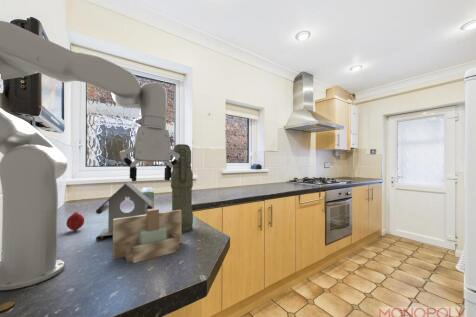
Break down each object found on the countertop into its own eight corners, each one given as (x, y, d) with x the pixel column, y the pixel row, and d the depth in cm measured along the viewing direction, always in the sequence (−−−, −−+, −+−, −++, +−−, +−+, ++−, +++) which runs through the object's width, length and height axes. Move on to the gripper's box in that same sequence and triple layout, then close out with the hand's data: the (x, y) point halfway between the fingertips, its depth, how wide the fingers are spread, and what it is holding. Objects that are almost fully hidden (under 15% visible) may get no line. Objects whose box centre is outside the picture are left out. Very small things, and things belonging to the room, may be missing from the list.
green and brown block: (141, 254, 59) (141, 212, 59) (138, 250, 62) (138, 210, 63) (166, 248, 63) (166, 209, 64) (162, 244, 66) (162, 207, 67)
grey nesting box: (153, 228, 88) (153, 181, 89) (151, 235, 79) (152, 182, 80) (103, 233, 82) (103, 182, 83) (95, 241, 73) (96, 184, 74)
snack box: (142, 215, 111) (142, 187, 111) (153, 214, 113) (153, 186, 113) (140, 226, 91) (140, 191, 92) (154, 224, 93) (154, 191, 94)
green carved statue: (173, 235, 78) (173, 143, 80) (168, 227, 89) (169, 145, 90) (196, 231, 82) (196, 143, 83) (189, 224, 93) (189, 146, 94)
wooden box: (116, 267, 54) (116, 224, 54) (112, 257, 60) (113, 218, 60) (189, 248, 66) (189, 213, 66) (179, 241, 72) (179, 209, 72)
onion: (83, 231, 84) (84, 211, 85) (65, 234, 81) (65, 213, 81) (84, 228, 89) (84, 209, 89) (67, 230, 86) (67, 210, 86)
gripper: (123, 118, 56) (120, 182, 55) (184, 126, 66) (183, 180, 65) (119, 123, 62) (116, 180, 61) (175, 130, 72) (174, 179, 71)
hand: (151, 180), depth 63 cm, fingers open, 9 cm apart
